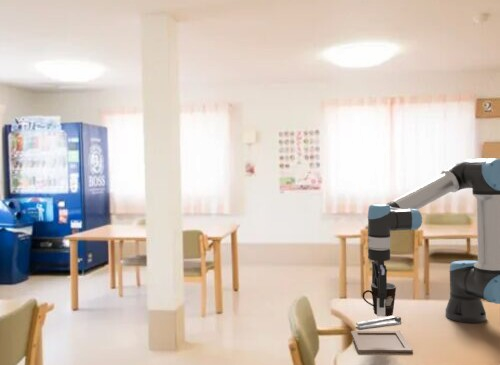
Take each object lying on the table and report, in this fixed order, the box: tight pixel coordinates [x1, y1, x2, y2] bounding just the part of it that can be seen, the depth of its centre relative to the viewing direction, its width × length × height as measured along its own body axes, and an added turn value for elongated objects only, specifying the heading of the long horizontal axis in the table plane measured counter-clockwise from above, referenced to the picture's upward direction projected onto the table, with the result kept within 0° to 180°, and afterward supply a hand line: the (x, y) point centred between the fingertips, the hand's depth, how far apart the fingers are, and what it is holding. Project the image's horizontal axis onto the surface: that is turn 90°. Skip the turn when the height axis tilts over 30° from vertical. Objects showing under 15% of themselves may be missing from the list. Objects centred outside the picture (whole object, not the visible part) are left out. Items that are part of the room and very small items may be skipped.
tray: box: [350, 330, 414, 355], centre depth 170 cm, size 18×18×1 cm
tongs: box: [355, 315, 402, 330], centre depth 189 cm, size 19×5×2 cm, turn 106°
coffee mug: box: [362, 282, 397, 317], centre depth 169 cm, size 12×9×10 cm
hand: (379, 312), depth 170 cm, fingers closed on coffee mug, 6 cm apart
